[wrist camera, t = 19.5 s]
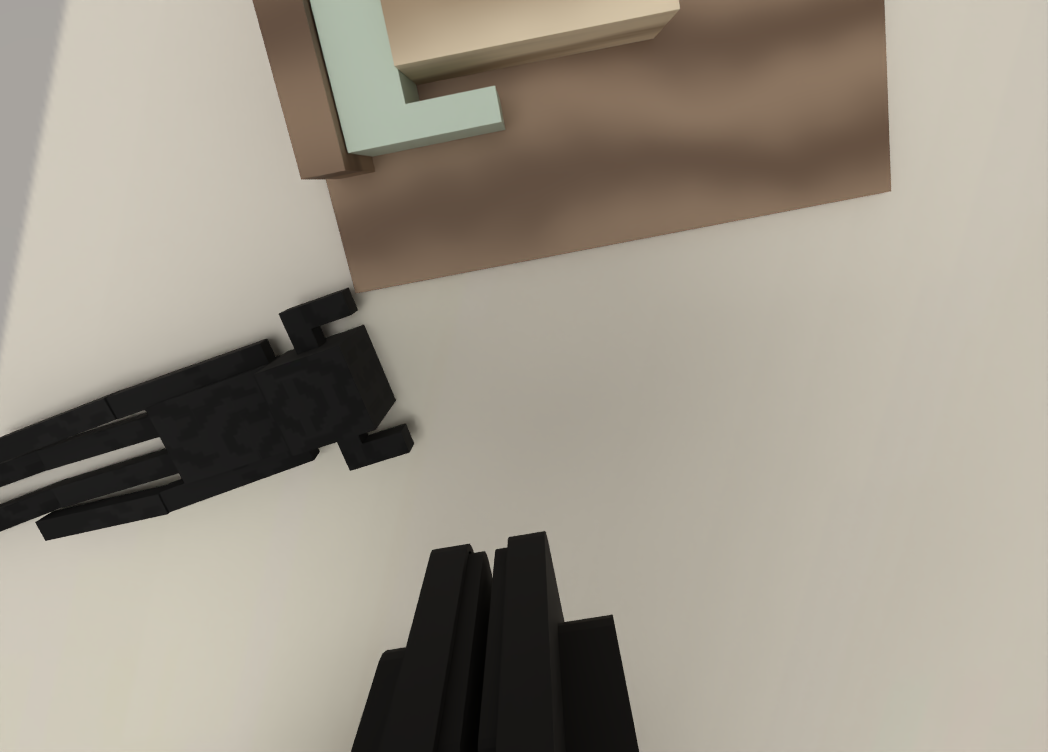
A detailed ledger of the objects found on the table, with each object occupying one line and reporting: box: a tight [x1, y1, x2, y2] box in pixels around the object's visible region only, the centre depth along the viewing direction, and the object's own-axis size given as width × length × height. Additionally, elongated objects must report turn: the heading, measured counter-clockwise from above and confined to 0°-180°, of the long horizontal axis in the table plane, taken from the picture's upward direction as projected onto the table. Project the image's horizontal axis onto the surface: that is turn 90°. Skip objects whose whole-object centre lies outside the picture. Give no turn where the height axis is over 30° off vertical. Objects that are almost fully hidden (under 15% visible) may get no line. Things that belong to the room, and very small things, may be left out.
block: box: [310, 0, 505, 157], centre depth 31 cm, size 10×7×5 cm, turn 11°
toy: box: [0, 288, 414, 541], centre depth 39 cm, size 10×5×30 cm
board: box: [253, 0, 891, 293], centre depth 31 cm, size 20×29×7 cm
